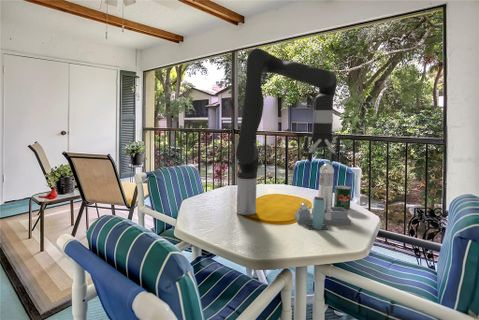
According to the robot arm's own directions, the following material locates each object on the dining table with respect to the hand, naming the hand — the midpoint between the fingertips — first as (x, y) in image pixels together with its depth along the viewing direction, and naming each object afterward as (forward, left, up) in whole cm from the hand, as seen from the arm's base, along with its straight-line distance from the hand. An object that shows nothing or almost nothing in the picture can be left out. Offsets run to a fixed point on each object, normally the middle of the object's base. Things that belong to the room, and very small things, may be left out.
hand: (320, 162), depth 122 cm
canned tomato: (+19, +29, -28) cm, 45 cm away
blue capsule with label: (0, -1, -28) cm, 28 cm away
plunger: (-4, +7, -25) cm, 27 cm away
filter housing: (+4, +8, -28) cm, 30 cm away
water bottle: (+9, +24, -28) cm, 38 cm away
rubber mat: (0, 0, -28) cm, 28 cm away
